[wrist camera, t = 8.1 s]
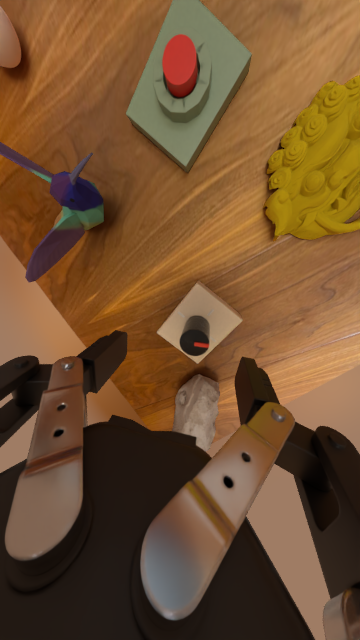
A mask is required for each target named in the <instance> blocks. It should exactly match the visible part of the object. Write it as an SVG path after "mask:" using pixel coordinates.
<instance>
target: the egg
mask: <svg viewBox="0 0 360 640" xmlns="http://www.w3.org/2000/svg"><path fill="white" fill-rule="evenodd" d="M20 61H21V48H20V43H19V39H18V37H17V34H16V32H15V29H14V27H13V25H12V23H11V21H10V20H9V18H8V16H7V15H6V13H5V12H4V10H3V9H2V7H1V6H0V66H2V67H6V68H14V67H16V66H18V64H19V63H20Z"/></svg>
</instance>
